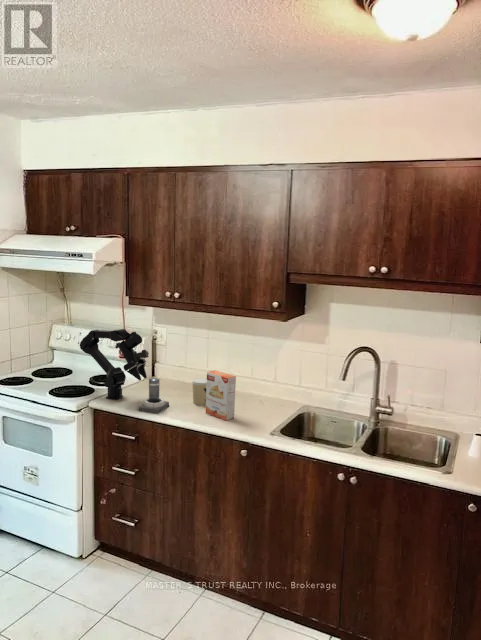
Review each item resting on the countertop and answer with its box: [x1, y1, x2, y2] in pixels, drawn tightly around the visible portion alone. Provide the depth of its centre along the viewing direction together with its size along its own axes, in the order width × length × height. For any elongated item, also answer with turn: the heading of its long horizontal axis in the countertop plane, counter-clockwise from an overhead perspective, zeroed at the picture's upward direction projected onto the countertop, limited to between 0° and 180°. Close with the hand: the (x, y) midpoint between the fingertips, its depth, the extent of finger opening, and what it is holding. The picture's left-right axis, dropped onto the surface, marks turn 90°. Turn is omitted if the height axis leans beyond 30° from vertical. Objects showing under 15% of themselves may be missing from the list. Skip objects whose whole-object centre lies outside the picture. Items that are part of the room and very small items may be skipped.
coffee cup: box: [192, 377, 207, 407], centre depth 264 cm, size 9×9×12 cm
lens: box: [148, 377, 161, 403], centre depth 253 cm, size 5×5×13 cm
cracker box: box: [205, 369, 237, 421], centre depth 246 cm, size 14×6×21 cm, turn 49°
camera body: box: [138, 397, 170, 415], centre depth 254 cm, size 10×13×4 cm
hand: (143, 379), depth 259 cm, fingers open, 9 cm apart
